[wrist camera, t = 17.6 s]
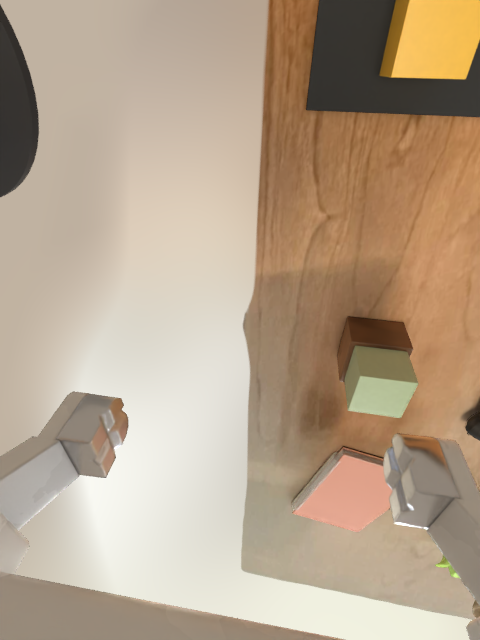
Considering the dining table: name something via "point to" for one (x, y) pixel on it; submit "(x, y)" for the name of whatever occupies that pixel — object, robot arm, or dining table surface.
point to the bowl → (476, 609)
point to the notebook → (346, 491)
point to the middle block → (379, 381)
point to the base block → (370, 339)
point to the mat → (376, 68)
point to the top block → (432, 39)
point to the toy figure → (474, 426)
